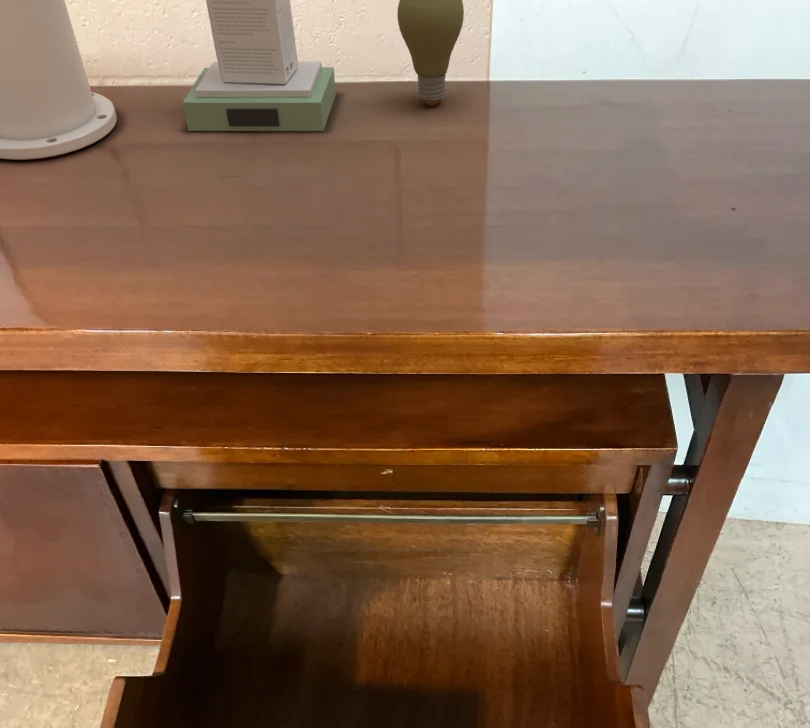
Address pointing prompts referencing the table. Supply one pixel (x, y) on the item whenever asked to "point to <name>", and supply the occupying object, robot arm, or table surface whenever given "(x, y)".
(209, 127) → the scale
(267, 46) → the cosmetic box
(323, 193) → the table surface
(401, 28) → the light bulb
